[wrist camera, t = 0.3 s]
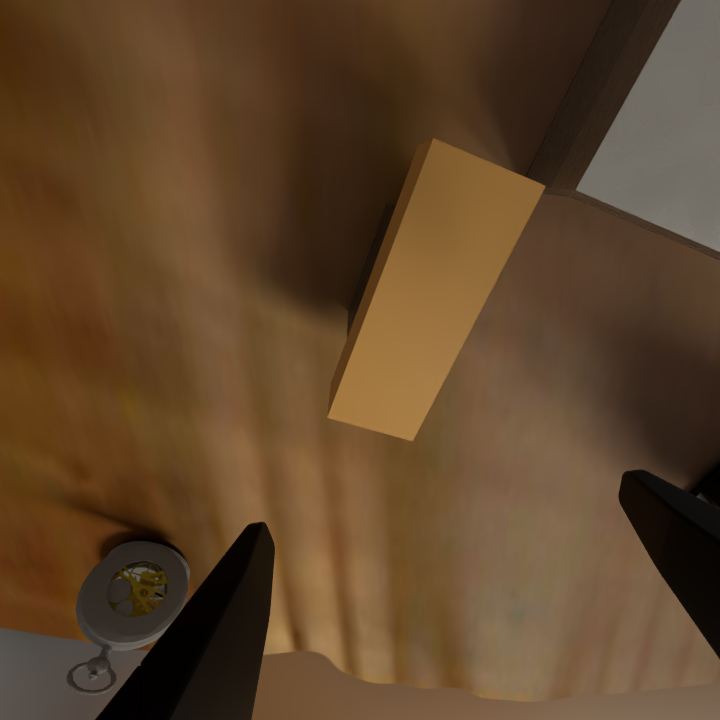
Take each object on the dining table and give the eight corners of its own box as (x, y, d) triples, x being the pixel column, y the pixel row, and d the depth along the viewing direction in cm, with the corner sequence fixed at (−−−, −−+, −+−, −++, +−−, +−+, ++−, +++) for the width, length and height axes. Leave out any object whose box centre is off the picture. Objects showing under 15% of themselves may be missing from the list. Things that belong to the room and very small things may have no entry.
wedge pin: (480, 181, 18) (546, 185, 12) (396, 368, 23) (412, 441, 17) (405, 150, 18) (433, 138, 11) (334, 348, 22) (327, 417, 16)
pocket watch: (125, 589, 32) (38, 748, 23) (88, 522, 29) (-33, 681, 20) (219, 584, 32) (167, 742, 23) (194, 516, 28) (121, 674, 19)
